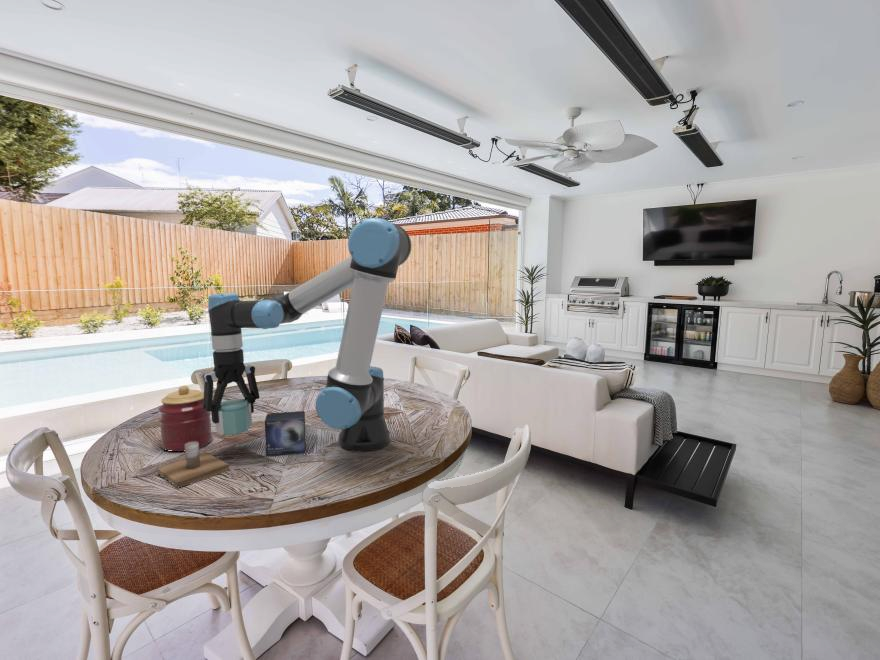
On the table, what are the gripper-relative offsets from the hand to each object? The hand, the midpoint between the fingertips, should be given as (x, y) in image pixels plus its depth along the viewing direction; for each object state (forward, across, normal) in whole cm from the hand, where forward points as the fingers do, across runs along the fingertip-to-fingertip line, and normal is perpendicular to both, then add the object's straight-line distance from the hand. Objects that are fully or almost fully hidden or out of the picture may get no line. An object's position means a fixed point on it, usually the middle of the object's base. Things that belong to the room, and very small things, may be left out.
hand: (234, 428), depth 119 cm
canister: (+6, +6, -16) cm, 18 cm away
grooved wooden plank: (+6, +13, +4) cm, 15 cm away
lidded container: (0, 0, 0) cm, 0 cm away
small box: (+7, -9, +11) cm, 16 cm away
